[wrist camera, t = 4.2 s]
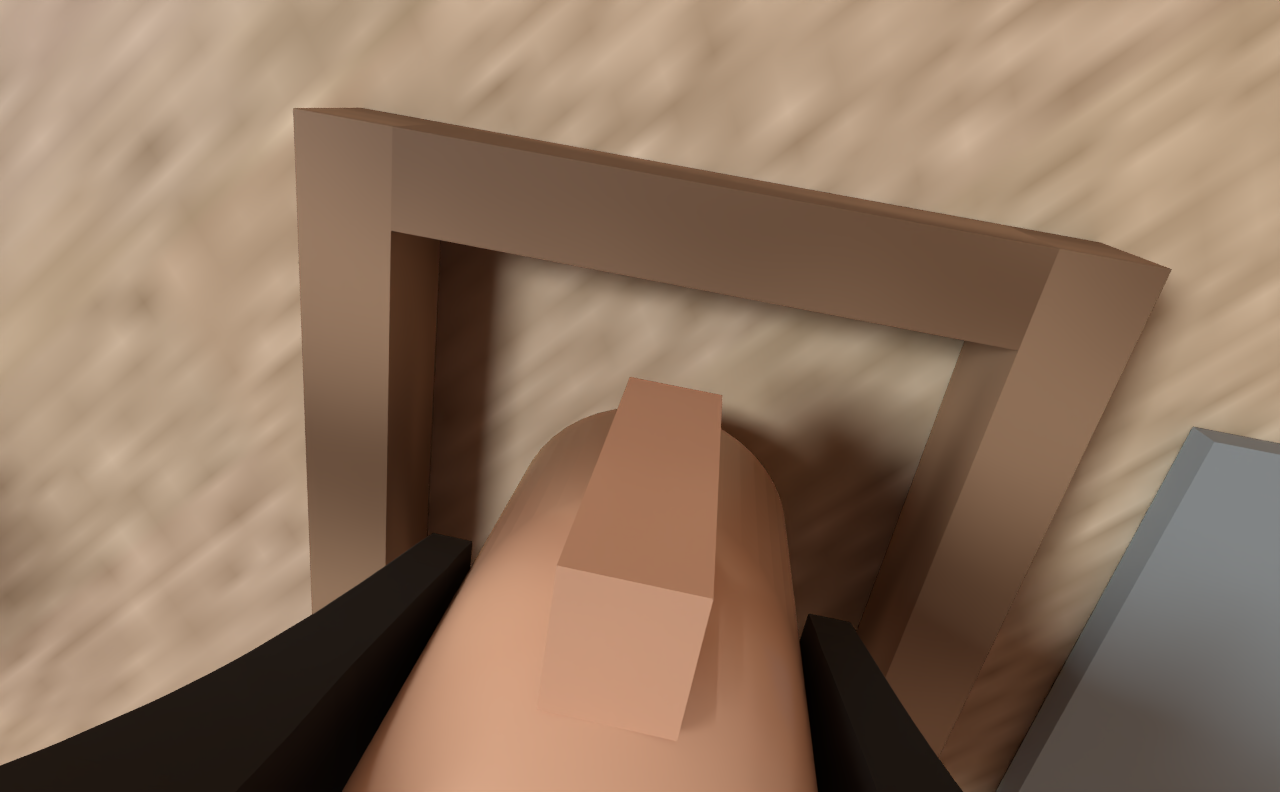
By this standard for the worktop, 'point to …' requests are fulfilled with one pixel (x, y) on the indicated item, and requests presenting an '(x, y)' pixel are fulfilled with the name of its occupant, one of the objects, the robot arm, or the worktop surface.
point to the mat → (1177, 644)
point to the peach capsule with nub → (616, 625)
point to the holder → (727, 264)
